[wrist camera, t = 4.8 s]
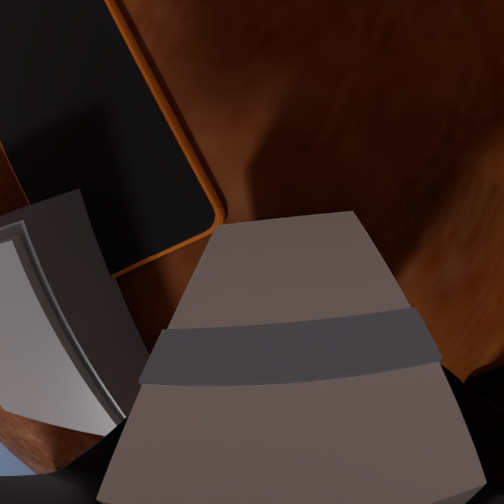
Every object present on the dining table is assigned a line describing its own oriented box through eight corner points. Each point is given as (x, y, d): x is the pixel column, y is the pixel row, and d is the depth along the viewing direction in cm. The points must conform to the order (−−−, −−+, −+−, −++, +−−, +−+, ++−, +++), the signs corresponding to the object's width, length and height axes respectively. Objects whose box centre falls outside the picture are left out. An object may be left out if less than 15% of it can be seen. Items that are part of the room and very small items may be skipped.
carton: (354, 209, 9) (493, 478, 2) (352, 362, 11) (383, 564, 4) (214, 223, 10) (90, 496, 2) (247, 371, 12) (219, 572, 5)
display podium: (83, 186, 11) (14, 225, 7) (162, 381, 15) (139, 445, 11) (-37, 231, 12) (-85, 264, 9) (34, 371, 16) (5, 413, 13)
